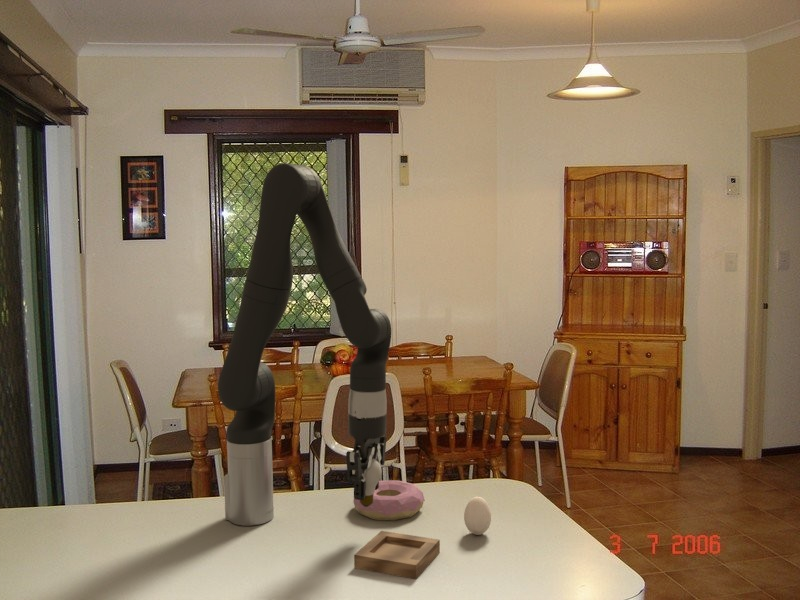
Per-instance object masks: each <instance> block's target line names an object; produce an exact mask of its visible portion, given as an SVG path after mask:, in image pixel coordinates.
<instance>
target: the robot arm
mask: <svg viewBox="0 0 800 600" xmlns="http://www.w3.org/2000/svg"><path fill="white" fill-rule="evenodd" d="M323 187H324V186H323V185H322V182H321V180H320V177H319V175H318V174H317V173H316V172H315V170H314V169H312V168H311V167H308V166H306V165H304V164H303V165H302V164H295V163H280V164H279V163H278V164H277V165H274V166H273V167H272V168H271V169H270V170H269V171H268V172H267V174H266V176H265V179H264V181H263V185H262V191H261V197H260V207H259V214H258V221H257V222H258V223H257V228H256V233H255V238H254V242H253V246H252V247H253V248H252V252H251V256H250V261H249V265H248V270H247V273H246V277H245V280H244V284H243V290H242V294H241V298H240V305H239V308H238V312H237V316H236V321H235V325H234V329H233V334H232V336H231V337H232V339H231V341H230V345H229V347H228V351H227V353H226V355H225V356H226V357H225V360H224V362H223V364H222V368H221V371H220V374H219V376H218V377H219V378H218V382H217V394H218V398H219V400H220V402H221V403H222V405H223V406H224V407H225V408H226V409H228V410H230V411H233V412H235V413H234V417H233V418H232V419H231V421H230V422H229V423H228V425H227V427H226V452H227V453H226V454H227V473H226V474H225V475H224V477H223V486H224V487H223V488H224V490H223V491H224V511H225V512H224V514H225V515H224V516H225V520H226V521H229V522H230V523H232V524H235V525H236V526H237V525H238V526H244V527H246V526H258V525H262V524H265V523H268V522H270V521H271V520H273V518H274V513H275V512H274V509H275V507H274V483H273V482H274V478H273V476H274V475H273V471H274V470H273V444H272V442H273V441H272V430H273V428H274V424H275V420H276V419H275V418H276V383H275V379H274V374H273V372H272V370H271V369H270V367H269V365H267V364H266V363H264V362H263V361H261V360H262V356H263V353H264V351H265V348H266V346H267V344H268V342H269V340H270V338H271V337H272V335H273V334H274V332H275V331H276V329H277V327H278V325H279V324H280V322H281V321H282V318H283V317H284V314H285V313H286V312H285V311H286V309H287V306H288V303H289V298H290V295H291V290H292V287H293V279H294V269H293V267H294V266H293V260H292V259H293V258H292V253H291V238H292V232H293V229H294V228H293V227H294V225H295V221H296V217H297V216H298V217H299V219H300V220H301V221H300V222H302V224H303V225H304V227H305V229H306V231H307V233H308V235H309V238H310V242H311V244H312V249H313V253H314V260H315V264H316V267H317V270H318V273H319V275H320V277H321V280H322V281H323V282H322V283H324V285H325V287H326V289H327V291H328V293H329V294H330V297H331V299H332V300H333V302H334V305H335V310H336V314H337V317H338V320H339V324H340V326H341V330H342V332H343V334H344V336H345V337H346V339H347V341H349V342H350V344H352V345H353V346H354V347H356V348H357V352H356V357H355V358H354V359H353V360H352V362H351V363H350V370H349V393H348V394H349V395H348V408H347V409H348V414H347V416H348V418H347V419H348V423H347V425H348V426H347V428H348V429H347V432H348V435H349V436H351V437H352V438H353V439H354V445H353V450H352V451H350V450H347V451H346V452H345V455H346V456H345V458H346V459H345V460H346V472H347V480H348V481H352V482H353V499H354V498H355V499H357V500H364V499H365V490H366V481H365V479H366V474H367V471H368V470H369V469H370V465H371V460H372V459H375V460H376V461H378V463H379V464H380V466H381V467H382V466H384V465H385V463H386V450H387V448H386V447H387V435H386V434H387V411H388V409H387V406H388V402H387V401H388V398H387V391H386V387H387V386H386V383H387V382H386V379H387V377H386V376H387V371H386V370H387V369H386V368H387V367H386V366H387V361H388V358H389V351H390V346H391V341H392V324H391V321H390V319H389V316H388V315H387V313H385V312H384V311H383V310H380V309H377V308H370V307H369V304H368V302H367V300H366V297H365V295H366V294H367V290H368V289H367V285H366V283H365V281H364V279H363V277H362V275H361V273H360V272H359V269H358V267H357V265H356V264H355V262H354V261H353V258H352V256H351V255H350V252H349V251H348V249H347V246H346V244H345V243H344V239H343V238H342V236H341V233H340V231H339V229H338V227H337V223H336V220H335V218H334V216H333V213H332V210H331V207H330V205H329V202H328V199H327V196H326V192H325V190H324V188H323ZM361 463H366V464H365V465H361ZM361 469H362V474H361ZM352 470H353V474H352ZM378 488H379V482H378V483H377V485H376V487H375V490H377V489H378Z"/></svg>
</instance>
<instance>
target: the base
mask: <svg viewBox="0 0 800 600" xmlns="http://www.w3.org/2000/svg"><path fill="white" fill-rule="evenodd" d="M440 543H441V542H440V539H437V538H432V537H427V536H426V537H424V536H418V535H413V534H412V535H411V534H405V533H399V532H394V531H393V532H392V531H388V530H387V531H386V530H381V531H379V532H378V533H377V534H376V535H375V536H374V537H372V539H370V540H369V541H368V542H367V543H366V544H365V545H364V546H362V547H361V548H360V549H359V550H358V551H356V552H355V553H354V554H353V559H354V561H353V562H354V566H353V567H354V569H357V570H363V571H369V572H370V571H371V572H373V573H374V572H375V573H379V574H387V575H392V576H398V577H402V578H403V577H404V578H410V579H416V580H417V578H418V577H419V576H420V575H421V574H422V573H423V572H424V571H425V570H426V569H427V567H428V566H429V565H430V564H431V563H432V562H433V561H434V560H435V558H436V557H437V556H438V555H439V554H440V551H441V546H440V545H441V544H440Z"/></svg>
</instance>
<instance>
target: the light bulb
mask: <svg viewBox="0 0 800 600" xmlns="http://www.w3.org/2000/svg"><path fill="white" fill-rule="evenodd" d="M365 464H366V463H361V465H365ZM352 474H353V470H352ZM361 474H362V469H361ZM381 477H382V465H381V466H380V464H379V463H378V461H376V460H375V459H372V460H371V465H370V469H369V470H368V471H367V474H366V479H365V481H366V490H365V499H364V500H360V503H361V504H362V505H363V506H365V507H368V506H369V505H371V504H372V503H373V493H374V491H375V487H376V485H377V483H378V482H379V481H381Z"/></svg>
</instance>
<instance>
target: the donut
mask: <svg viewBox="0 0 800 600" xmlns="http://www.w3.org/2000/svg"><path fill="white" fill-rule="evenodd" d="M425 500H426V499H425V496H424V492H423V491H422V490H421V489H419V487H418V486H416V485H415V484H414V483H411V482H407V481H402V480H390V479H389V480H379V488H378V489H377V490H375V491H374V493H373V503H372V504H371V505H369V506H368V507H365V506H363V505H362V504H361V503H360V500H357V499H355V498H354V497H353V504H354V508H355V510H356V512H358V513H359V514H360V515H362V516H365V517H367V518H370V519H372V520H378V521H380V520H381V521H396V520H400V519H406V518H412V516H414V515H415V514H417V513H418V512H419V511H421V509H422V508H423V505H424V502H425Z"/></svg>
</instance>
